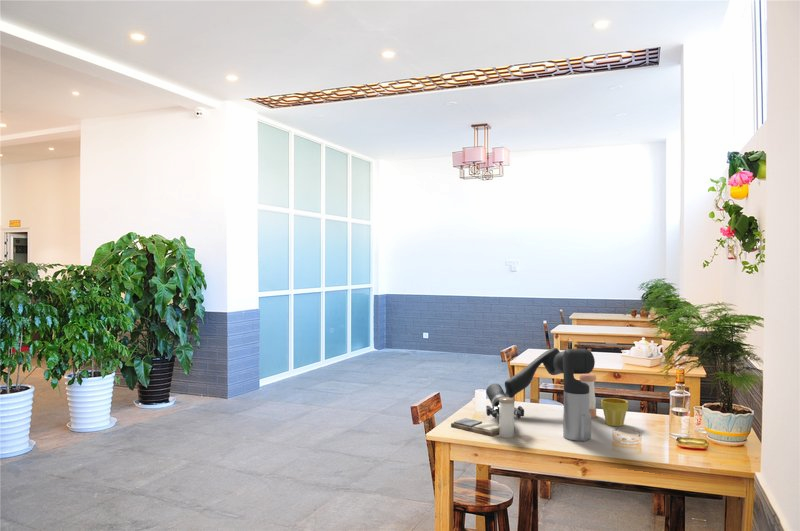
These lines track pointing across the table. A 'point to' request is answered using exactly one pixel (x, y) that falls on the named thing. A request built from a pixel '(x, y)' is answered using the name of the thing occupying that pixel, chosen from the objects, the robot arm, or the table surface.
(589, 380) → the pepper shaker
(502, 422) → the tea canister
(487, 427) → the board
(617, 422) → the plant pot
